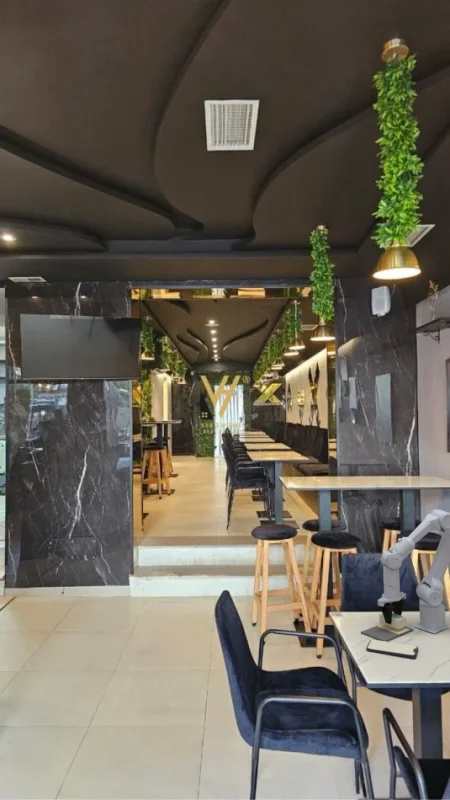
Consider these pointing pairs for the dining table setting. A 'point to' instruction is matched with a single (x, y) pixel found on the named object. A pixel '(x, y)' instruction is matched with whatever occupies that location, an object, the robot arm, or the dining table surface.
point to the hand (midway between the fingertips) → (392, 621)
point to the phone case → (392, 649)
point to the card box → (394, 621)
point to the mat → (386, 632)
